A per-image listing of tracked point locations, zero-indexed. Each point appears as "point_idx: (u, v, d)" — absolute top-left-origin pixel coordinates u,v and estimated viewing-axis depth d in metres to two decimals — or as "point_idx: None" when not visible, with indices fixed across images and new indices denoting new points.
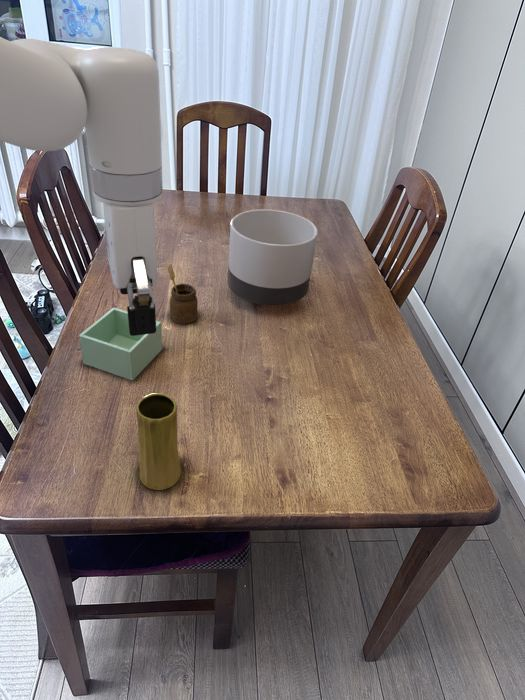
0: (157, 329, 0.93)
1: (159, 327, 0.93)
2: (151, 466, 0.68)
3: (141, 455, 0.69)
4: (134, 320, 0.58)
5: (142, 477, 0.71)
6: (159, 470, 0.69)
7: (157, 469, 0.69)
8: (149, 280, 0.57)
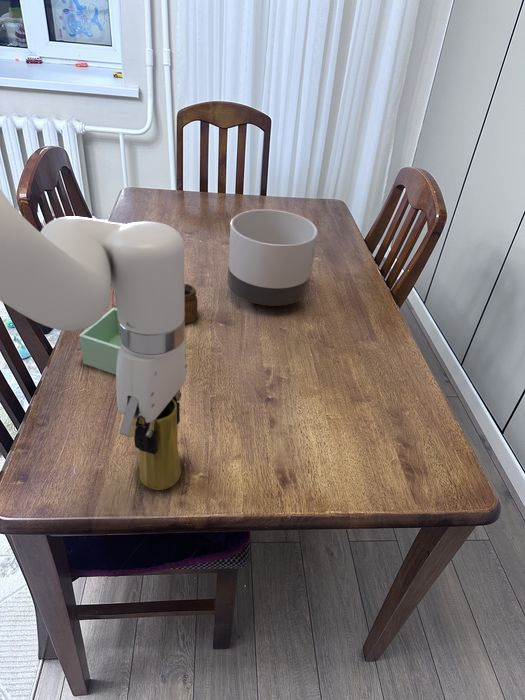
0: None
1: None
2: (151, 466, 0.68)
3: (141, 455, 0.69)
4: None
5: (142, 477, 0.71)
6: (159, 470, 0.69)
7: (157, 469, 0.69)
8: None
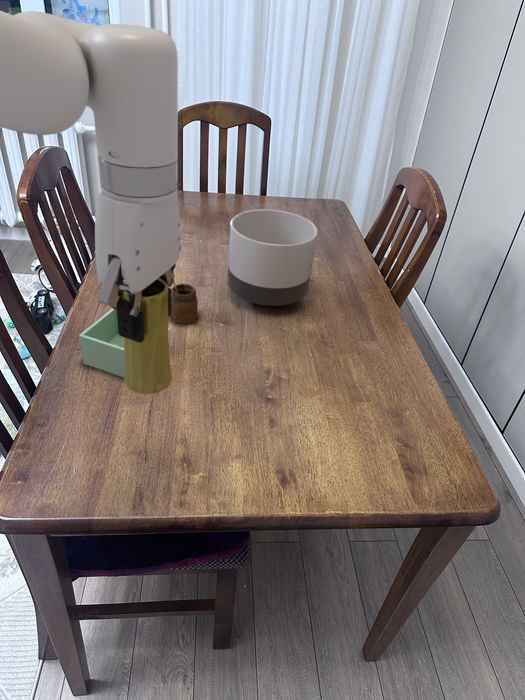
0: None
1: None
2: (137, 362, 0.59)
3: (126, 350, 0.60)
4: None
5: (127, 379, 0.62)
6: (147, 368, 0.60)
7: (145, 366, 0.60)
8: None
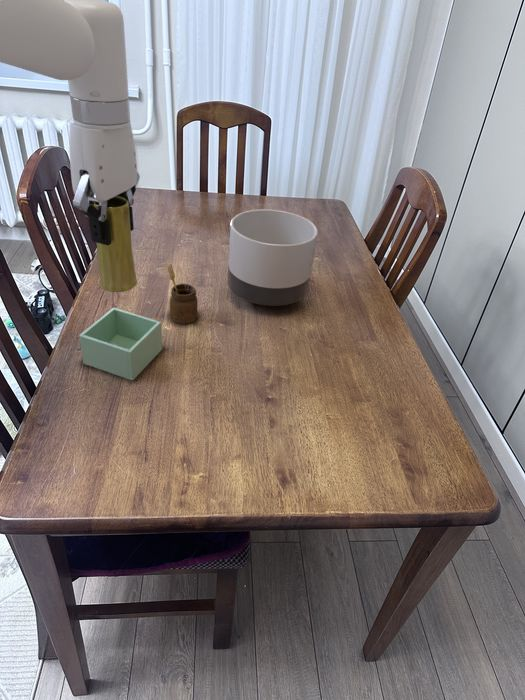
0: (157, 329, 0.93)
1: (159, 327, 0.93)
2: (107, 264, 0.77)
3: (99, 255, 0.77)
4: None
5: (101, 281, 0.80)
6: (115, 269, 0.78)
7: (113, 267, 0.77)
8: None
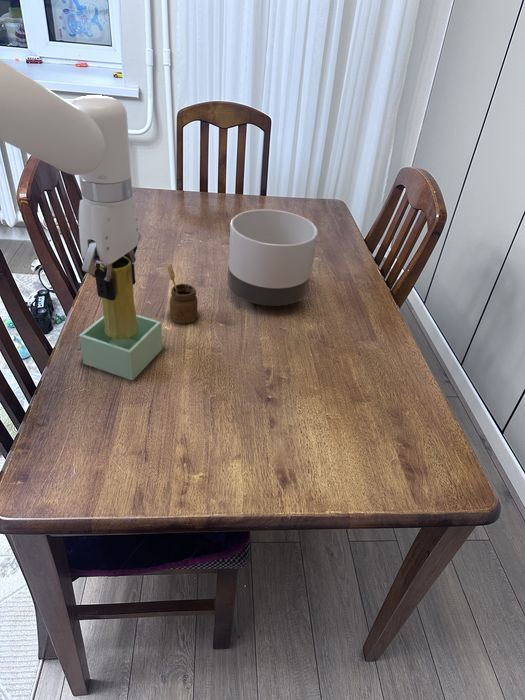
0: (157, 329, 0.93)
1: (159, 327, 0.93)
2: (112, 315, 0.86)
3: (104, 307, 0.86)
4: None
5: (106, 329, 0.89)
6: (118, 319, 0.86)
7: (117, 318, 0.86)
8: None
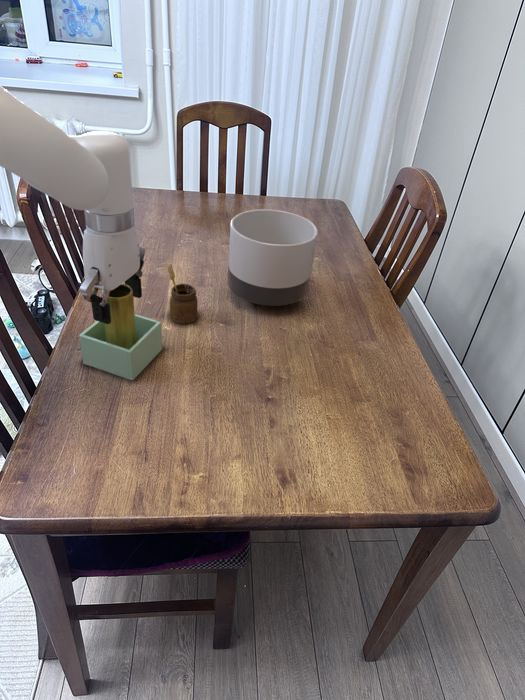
0: (157, 329, 0.93)
1: (159, 327, 0.93)
2: (114, 341, 0.89)
3: (107, 333, 0.89)
4: None
5: None
6: (121, 345, 0.89)
7: (119, 344, 0.89)
8: None
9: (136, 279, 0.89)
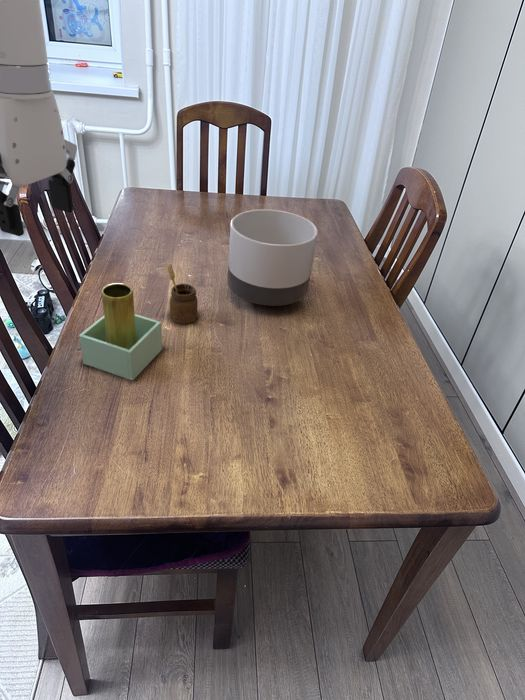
0: (157, 329, 0.93)
1: (159, 327, 0.93)
2: (114, 341, 0.89)
3: (107, 333, 0.89)
4: None
5: None
6: (121, 345, 0.89)
7: (119, 344, 0.89)
8: None
9: (64, 185, 0.67)
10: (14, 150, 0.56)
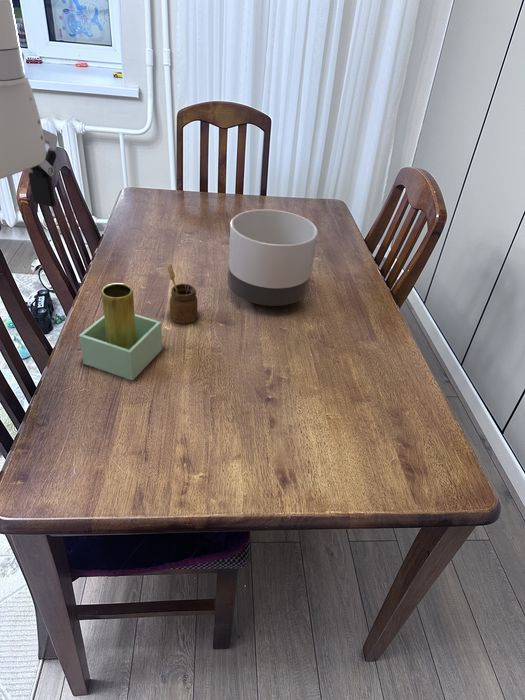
0: (157, 329, 0.93)
1: (159, 327, 0.93)
2: (114, 341, 0.89)
3: (107, 333, 0.89)
4: None
5: None
6: (121, 345, 0.89)
7: (119, 344, 0.89)
8: None
9: (44, 177, 0.64)
10: None
